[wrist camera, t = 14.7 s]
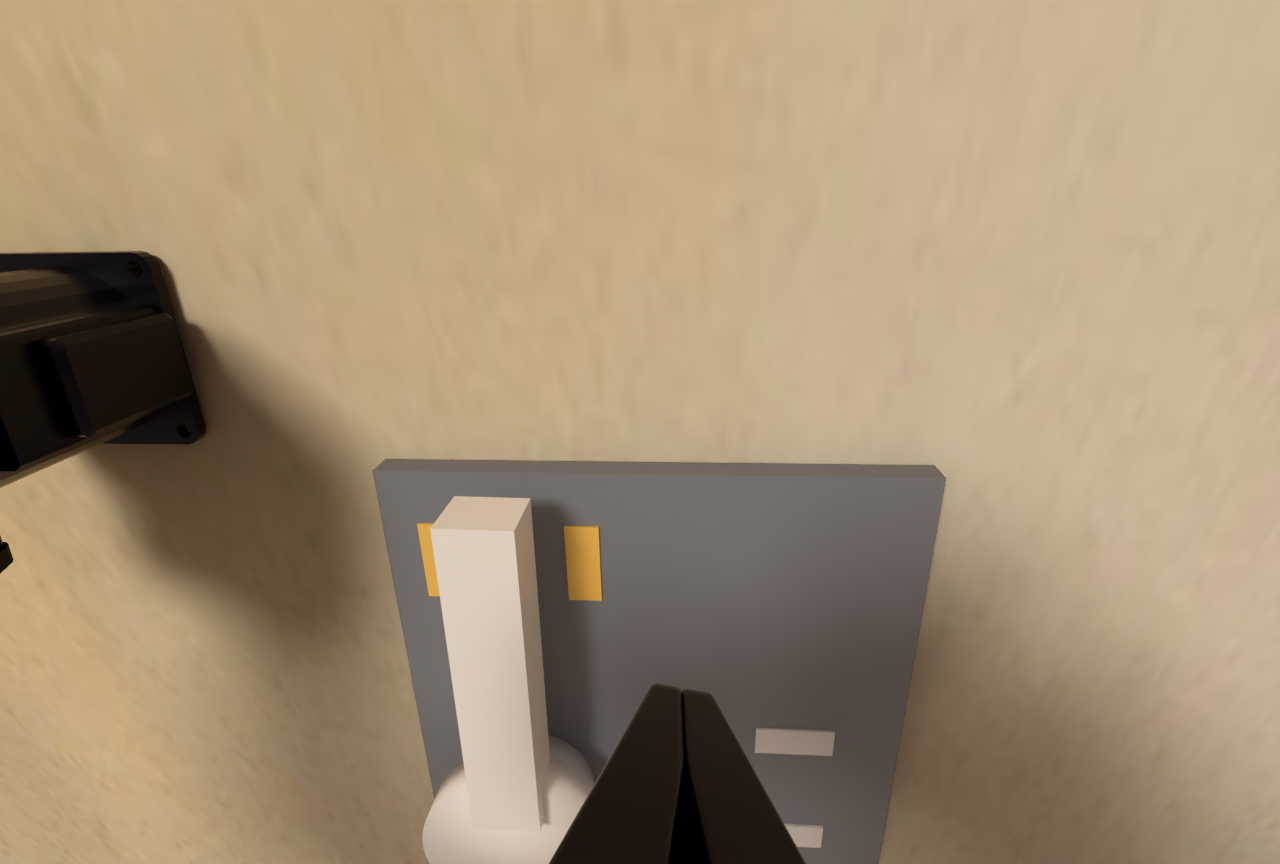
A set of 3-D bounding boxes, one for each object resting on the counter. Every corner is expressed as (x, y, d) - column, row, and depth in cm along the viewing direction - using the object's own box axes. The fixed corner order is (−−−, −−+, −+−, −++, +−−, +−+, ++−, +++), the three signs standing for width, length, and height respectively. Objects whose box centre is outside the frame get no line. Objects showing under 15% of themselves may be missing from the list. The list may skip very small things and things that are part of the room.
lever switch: (614, 883, 26) (609, 937, 24) (447, 872, 26) (428, 924, 24) (604, 500, 19) (595, 533, 17) (382, 494, 20) (350, 526, 18)
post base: (452, 832, 29) (432, 888, 27) (385, 459, 22) (351, 490, 20) (869, 854, 28) (886, 915, 26) (934, 465, 21) (965, 499, 19)
